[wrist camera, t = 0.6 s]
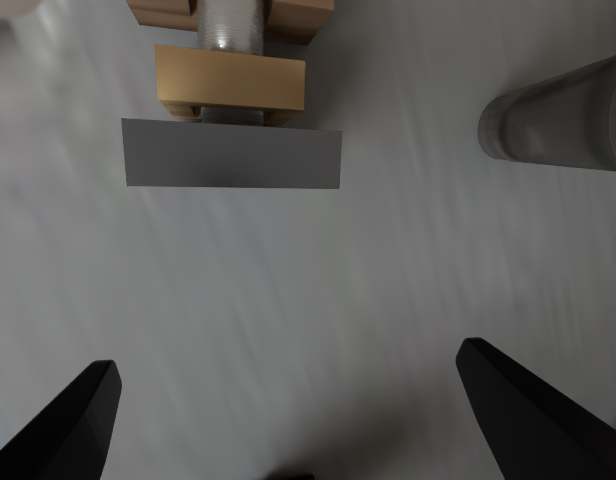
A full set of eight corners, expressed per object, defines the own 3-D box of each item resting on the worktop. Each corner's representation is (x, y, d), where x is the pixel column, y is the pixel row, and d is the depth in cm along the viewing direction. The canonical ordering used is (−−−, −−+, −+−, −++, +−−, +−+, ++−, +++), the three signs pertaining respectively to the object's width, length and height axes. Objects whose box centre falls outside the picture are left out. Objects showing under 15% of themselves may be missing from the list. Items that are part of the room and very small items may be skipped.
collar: (280, 124, 21) (304, 110, 15) (176, 118, 19) (158, 99, 13) (281, 90, 20) (305, 60, 14) (174, 80, 19) (154, 44, 13)
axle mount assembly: (287, 178, 22) (339, 188, 12) (170, 175, 20) (126, 185, 10) (291, -68, 19) (363, -301, 9) (155, -95, 17) (76, -418, 8)
